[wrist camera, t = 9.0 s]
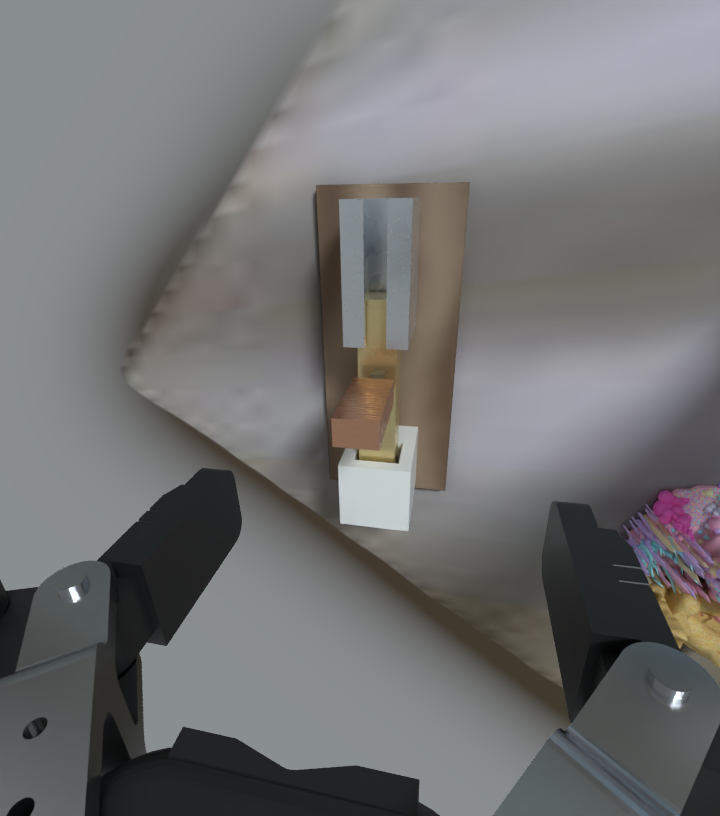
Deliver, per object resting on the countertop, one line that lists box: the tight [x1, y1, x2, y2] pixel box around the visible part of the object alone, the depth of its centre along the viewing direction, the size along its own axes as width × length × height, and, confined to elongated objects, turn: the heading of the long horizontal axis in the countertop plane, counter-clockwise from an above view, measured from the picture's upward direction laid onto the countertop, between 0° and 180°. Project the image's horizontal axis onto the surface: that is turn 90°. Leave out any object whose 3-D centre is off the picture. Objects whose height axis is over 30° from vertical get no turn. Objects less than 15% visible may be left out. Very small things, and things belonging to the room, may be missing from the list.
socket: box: [338, 426, 418, 531], centre depth 42 cm, size 6×6×8 cm
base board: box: [316, 182, 470, 491], centre depth 42 cm, size 12×28×1 cm, turn 1°
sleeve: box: [339, 198, 421, 350], centre depth 35 cm, size 5×10×7 cm, turn 1°
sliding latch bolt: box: [331, 291, 401, 464], centre depth 34 cm, size 3×17×12 cm, turn 1°
